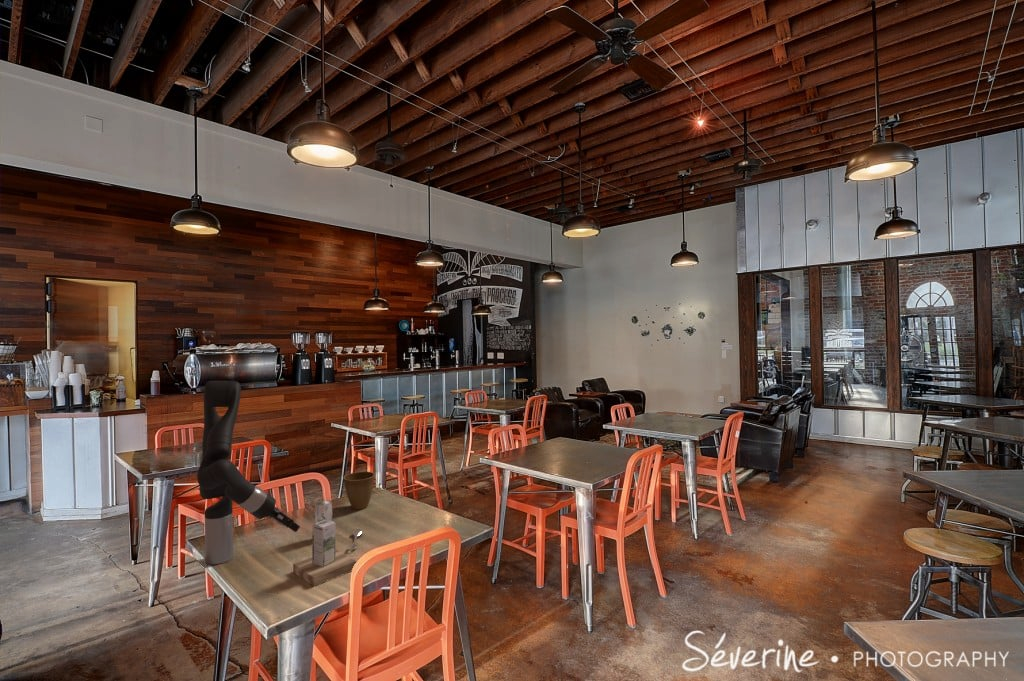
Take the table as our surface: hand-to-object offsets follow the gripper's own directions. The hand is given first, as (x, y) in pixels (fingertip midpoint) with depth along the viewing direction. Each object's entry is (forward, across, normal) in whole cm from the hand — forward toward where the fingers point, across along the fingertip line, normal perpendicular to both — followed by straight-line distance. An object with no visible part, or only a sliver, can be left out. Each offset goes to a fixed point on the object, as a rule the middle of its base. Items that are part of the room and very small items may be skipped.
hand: (292, 526), depth 167 cm
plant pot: (+54, +50, -25) cm, 77 cm away
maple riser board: (+22, 0, +6) cm, 23 cm away
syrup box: (+20, 0, +4) cm, 20 cm away
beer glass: (+32, +28, -4) cm, 43 cm away
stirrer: (+37, +14, -8) cm, 40 cm away
